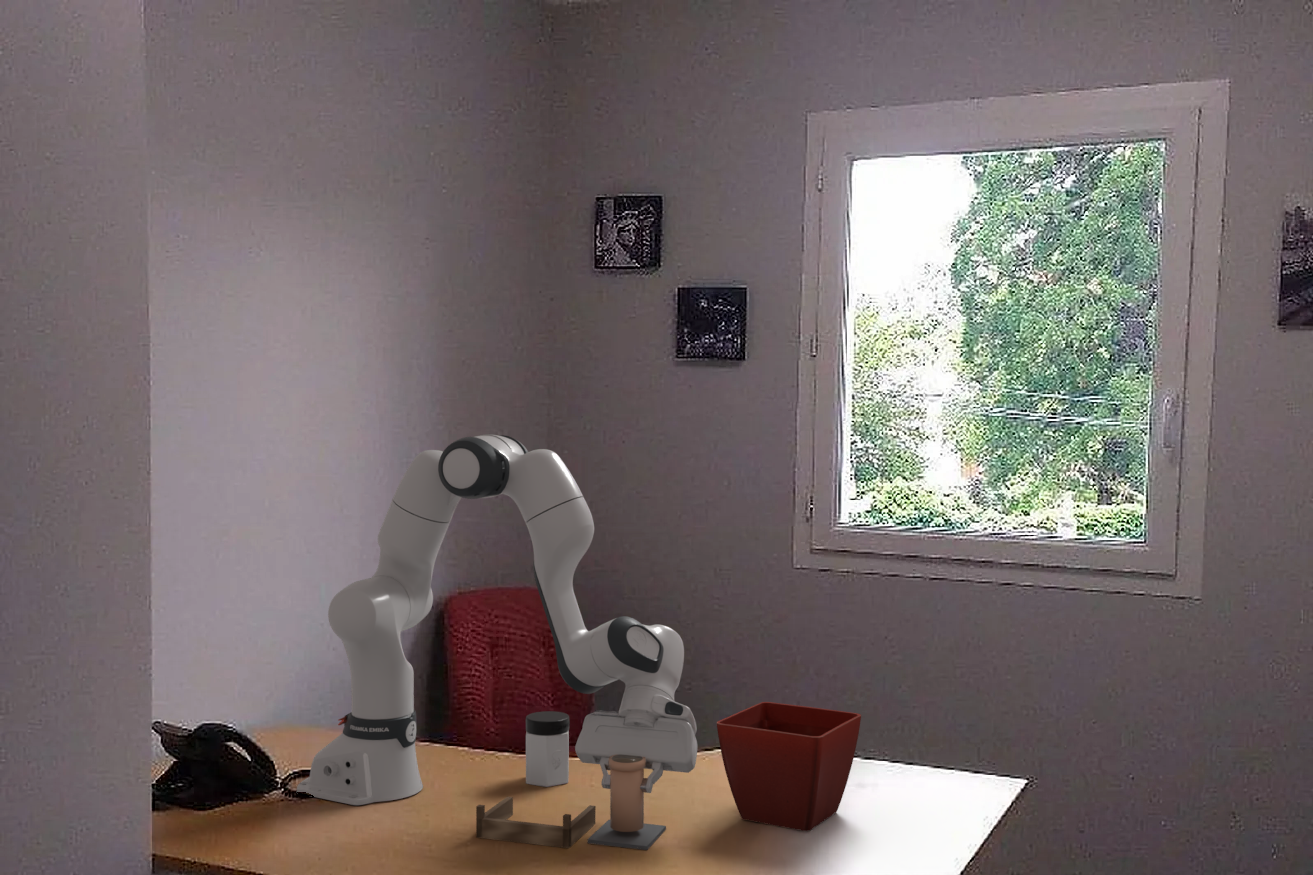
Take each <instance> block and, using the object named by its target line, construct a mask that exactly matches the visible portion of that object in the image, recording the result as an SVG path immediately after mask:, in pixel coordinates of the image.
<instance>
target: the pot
mask: <svg viewBox="0 0 1313 875" xmlns="http://www.w3.org/2000/svg"><path fill="white" fill-rule="evenodd" d="M645 767H646V758H645V757H641V756H633V755H622V754H619V755H618V754H616V755H612V756H610V757H609V768H610V770H609V772H610V773H609V775H610V789H609V791H610V793H609V794H610V795H609V797H610V798H609V799H610V806H609V808H610V809H609V814H610V818H609V820H610V827H611V828H612V829H613V830H616V831H620V832H633V831H638V830H640V829H642V828H643V827H644V823H645V822H644V820H645V819H644V818H645V817H644V816H645V813H644V811H645V809H644V808H645V807H644V806H645V801H644V799H645V794H644V793H645V792H642V790H641V789H640V786H641V783H642V780H643V778H645V775H644V774H645V769H644V768H645Z"/></svg>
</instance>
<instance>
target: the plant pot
mask: <svg viewBox="0 0 1313 875" xmlns="http://www.w3.org/2000/svg"><path fill="white" fill-rule="evenodd" d="M861 719H862V714H860V713H856V712H849V711H842V710H838V709H837V710H835V709H829V708H822V707H814V706H806V705H795V704H789V703H788V704H787V703H780V702H779V703H778V702H771V701H762V702H758V703H757V704H753V705H752V706H750V707H748V708H745V709H743V710H741V711H738V712H736V713H734V714H732V715H730V716H727V717H725V718H723V719H720V720H717V721H716V728H717V735H718V737H717V738H718V742H719V747H720V753H721V758H722V761H723V762H722V763H723V766H724V770H725V775H726V777H727V781H728V785H729V787H730V791H731V795H732V796H733V800H734V803H735V806H736V808H737V810H738V813H739V814H738V815H739V816H740V818H741V819H742V820H744V821H750V822H754V823H755V822H757V823H759V824H760V823H761V824H766V825H771V826H776V827H780V828H786V829H791V830H796V831H803V832H808V831H812V830H813V829H815V828H816V827H817V826H819V825H820V824H822V823H823V822H825V821H826V820H828V819H829V818H830V817H832V816H833V815H834V814H836V813H837V812H838V809H839V807H840V804H841V802H842V800H843V799H842V798H843V795H844V793H845V790H846V787H847V785H848V781H849V776H850V772H851V770H852V765H853V761H854V757H855V753H856V749H857V745H858V744H857V743H858V740H859V733H860V728H861V721H862V720H861Z"/></svg>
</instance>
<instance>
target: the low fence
mask: <svg viewBox="0 0 1313 875" xmlns="http://www.w3.org/2000/svg"><path fill="white" fill-rule="evenodd" d="M485 806H486V805H485V804H478V805H476V807H475V808H476V810H475V811H476V812H475V813H476V814H475V816H476V819H475V820H476V821H475V823H476V824H475V825H476V826H475V827H476V829H475V830H476V832H475V833H476V834H475V835H476V837H475V838H480V839H488V840H495V841H496V840H497V841H504V842H505V841H506V842H512V843H513V842H514V843H522V844H530V845H537V846H539V845H540V846H548V847H556V848H564V849H569V848H571V847H572V846H573V845H574V844H575V843H576V842H577V841H578V840H580V839H581V838H582V837H583V836H584V835H585V834H586V833H587V832H588V831H589V830H591V828H593V827H594V826H595V825H596V805H592V804H591V805H588V806H587V807H586V808H585V809H584V810H583V811H581V812H580V813H579V814H578V815H577V816H576V817H574V818H573V819H572V814H568V813H564V815H562V825H555V824H546V823H538V822H528V821H527V822H526V821H519V820H510V819H509V818H510V817H512V816H513V815H514V797H513V796H506V797H505V798H504V799H502V800H501V801H499V802H498V803H496V804H495V805H494V806H492V807H490V809H488V810H485V809H486V807H485Z"/></svg>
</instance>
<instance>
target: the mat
mask: <svg viewBox="0 0 1313 875" xmlns="http://www.w3.org/2000/svg"><path fill="white" fill-rule="evenodd" d="M666 830H667V826H666V825H662V824H655V823H654V824H652V823H645V822H644V827H643V828H642V829H640V830H638V831H633V832H620V831H616V830H613V829H612V828H611V827H610V819H608V820H606V821H605V822H604V824H602V825H601V826H600V827H599V828H598V829H597V830H596V831H595V832H594V833H593V834H591V836H589V837H588V838H587V839H586V840H587V844H590V845H591V844H593V845H599V846H600V845H601V846H607V847H608V846H610V847H616V848H625V849H626V848H627V849H633V850H634V849H635V850H645V851H648V850H649V849H650V848H651V847H652V846H653V845H654V843H655V842H656V841H657V840H658V839H659V838H660V837H661V835H662V834H664V832H665V831H666Z"/></svg>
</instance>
